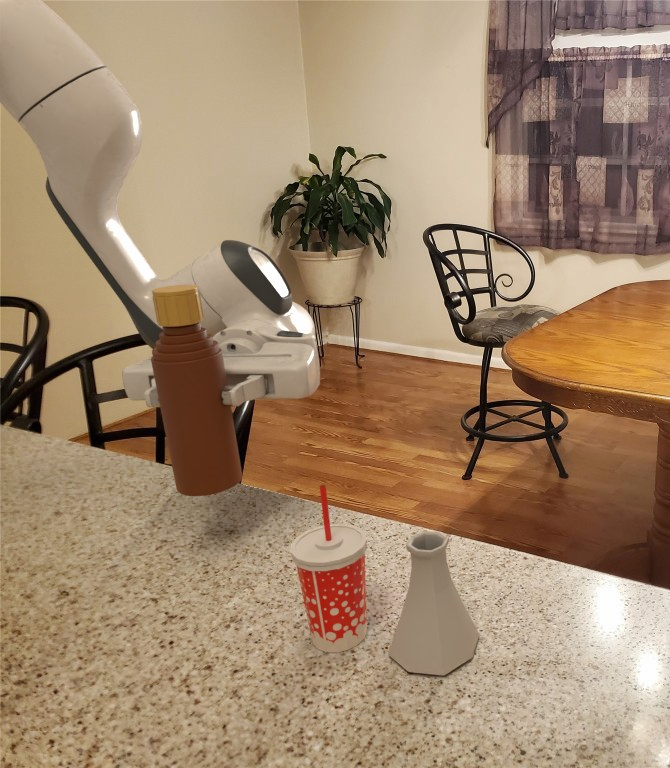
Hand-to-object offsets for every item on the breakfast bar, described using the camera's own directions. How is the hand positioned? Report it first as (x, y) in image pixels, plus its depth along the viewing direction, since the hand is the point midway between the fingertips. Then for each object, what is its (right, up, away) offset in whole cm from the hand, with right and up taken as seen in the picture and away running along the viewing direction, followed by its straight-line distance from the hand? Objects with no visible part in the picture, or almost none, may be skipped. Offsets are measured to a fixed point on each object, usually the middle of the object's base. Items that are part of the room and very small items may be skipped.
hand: (190, 399), depth 68 cm
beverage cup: (+17, -20, -9) cm, 28 cm away
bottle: (0, -9, +4) cm, 10 cm away
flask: (+26, -20, -11) cm, 35 cm away
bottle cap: (0, +8, -2) cm, 8 cm away
